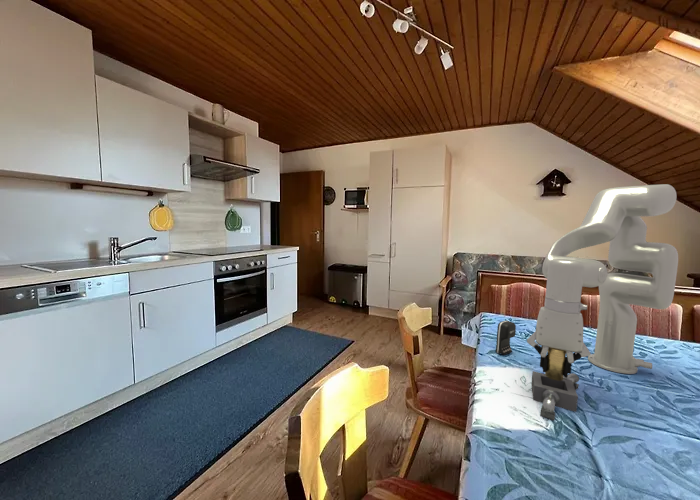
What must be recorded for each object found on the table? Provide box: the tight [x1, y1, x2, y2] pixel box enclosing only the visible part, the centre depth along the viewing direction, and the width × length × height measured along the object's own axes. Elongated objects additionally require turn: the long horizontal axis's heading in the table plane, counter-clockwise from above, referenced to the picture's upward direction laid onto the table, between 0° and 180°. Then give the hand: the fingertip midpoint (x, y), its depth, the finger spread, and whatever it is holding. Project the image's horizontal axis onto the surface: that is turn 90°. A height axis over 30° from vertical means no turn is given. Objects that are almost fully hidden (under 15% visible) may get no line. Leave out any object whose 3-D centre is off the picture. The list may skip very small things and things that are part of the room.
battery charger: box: [495, 320, 517, 356], centre depth 107 cm, size 7×4×11 cm, turn 125°
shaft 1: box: [539, 389, 560, 421], centre depth 73 cm, size 7×4×4 cm, turn 141°
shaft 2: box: [563, 372, 580, 390], centre depth 84 cm, size 7×4×4 cm, turn 121°
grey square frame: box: [530, 371, 579, 413], centre depth 79 cm, size 9×9×4 cm
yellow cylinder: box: [544, 347, 566, 381], centre depth 79 cm, size 4×4×8 cm
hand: (554, 372), depth 79 cm, fingers closed on yellow cylinder, 4 cm apart
